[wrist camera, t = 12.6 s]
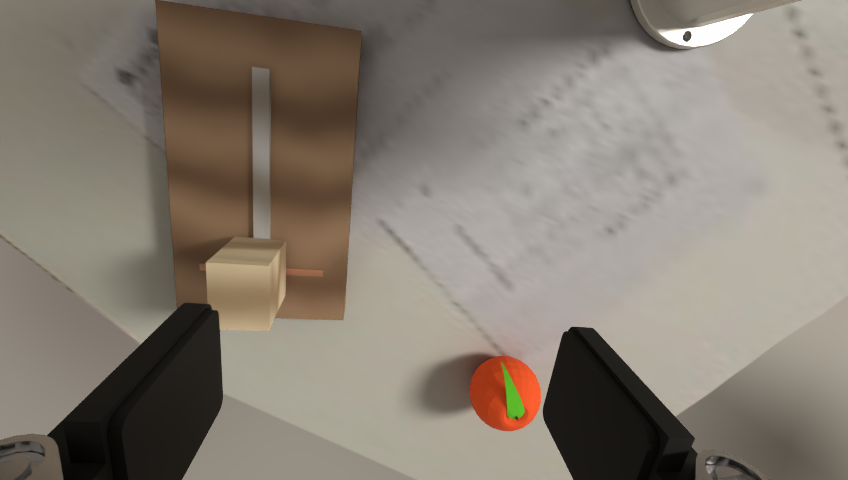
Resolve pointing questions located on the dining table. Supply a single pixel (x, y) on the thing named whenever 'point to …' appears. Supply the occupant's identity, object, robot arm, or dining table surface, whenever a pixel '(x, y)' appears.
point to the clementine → (505, 393)
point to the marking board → (260, 146)
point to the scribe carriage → (247, 282)
